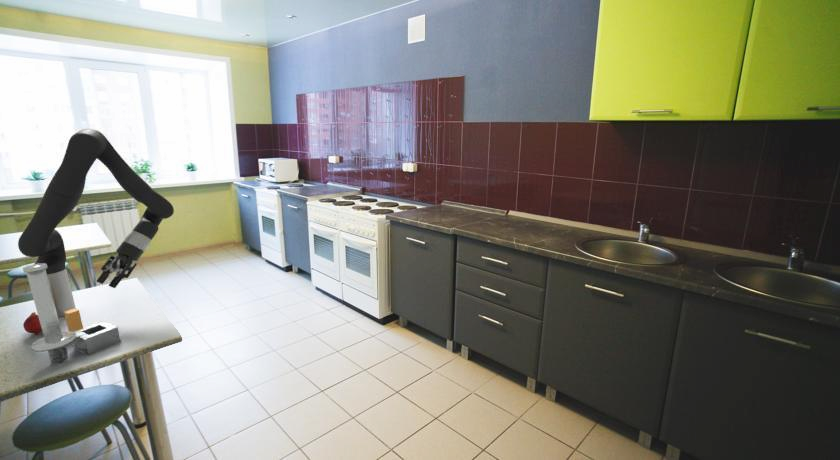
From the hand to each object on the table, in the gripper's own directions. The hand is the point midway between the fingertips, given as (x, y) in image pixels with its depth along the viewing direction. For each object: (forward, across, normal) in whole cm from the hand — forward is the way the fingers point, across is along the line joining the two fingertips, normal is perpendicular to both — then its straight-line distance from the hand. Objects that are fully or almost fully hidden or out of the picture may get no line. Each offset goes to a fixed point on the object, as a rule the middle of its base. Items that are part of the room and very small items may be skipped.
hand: (105, 284), depth 141 cm
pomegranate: (+22, -13, -2) cm, 26 cm away
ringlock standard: (+22, +14, -1) cm, 26 cm away
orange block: (+18, 0, +2) cm, 18 cm away
